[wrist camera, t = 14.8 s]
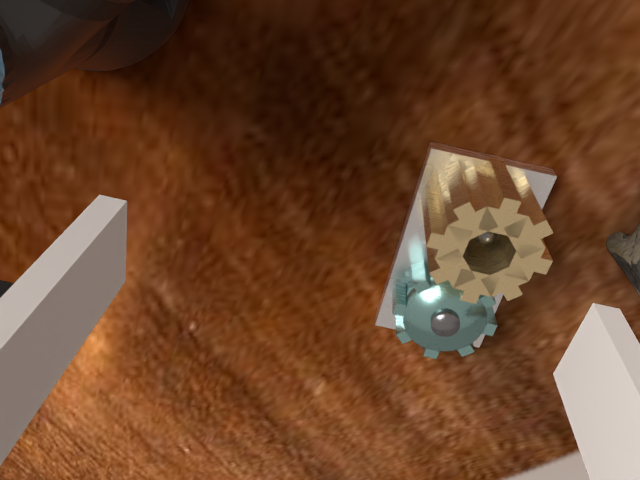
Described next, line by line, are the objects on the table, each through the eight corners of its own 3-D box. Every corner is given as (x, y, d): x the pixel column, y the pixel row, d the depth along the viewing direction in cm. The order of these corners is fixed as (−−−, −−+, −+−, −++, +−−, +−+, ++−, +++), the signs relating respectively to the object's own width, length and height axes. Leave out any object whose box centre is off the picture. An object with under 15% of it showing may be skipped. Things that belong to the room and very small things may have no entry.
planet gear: (401, 190, 47) (403, 233, 41) (504, 137, 43) (523, 175, 37) (451, 269, 50) (460, 320, 44) (550, 225, 47) (574, 273, 41)
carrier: (375, 315, 55) (374, 361, 50) (430, 141, 46) (436, 175, 40) (477, 337, 55) (487, 386, 50) (552, 168, 46) (575, 206, 40)
